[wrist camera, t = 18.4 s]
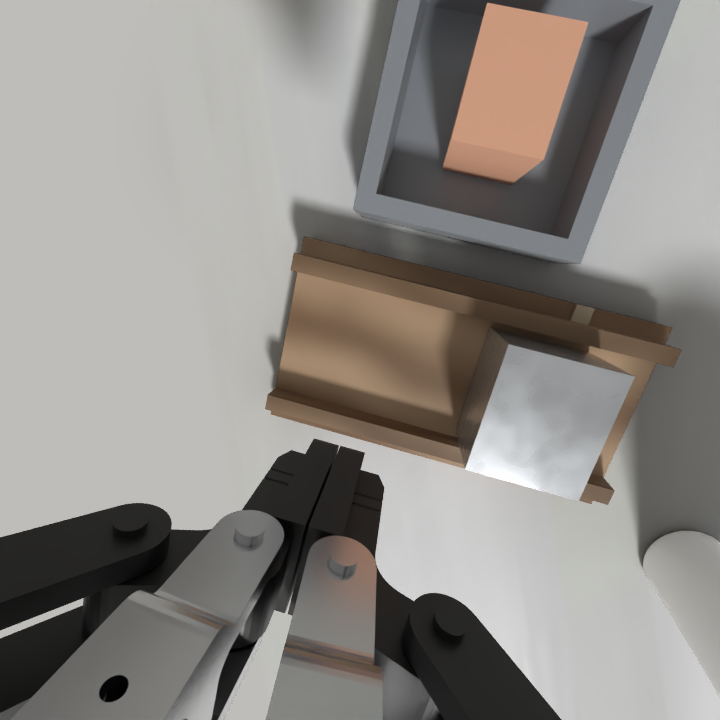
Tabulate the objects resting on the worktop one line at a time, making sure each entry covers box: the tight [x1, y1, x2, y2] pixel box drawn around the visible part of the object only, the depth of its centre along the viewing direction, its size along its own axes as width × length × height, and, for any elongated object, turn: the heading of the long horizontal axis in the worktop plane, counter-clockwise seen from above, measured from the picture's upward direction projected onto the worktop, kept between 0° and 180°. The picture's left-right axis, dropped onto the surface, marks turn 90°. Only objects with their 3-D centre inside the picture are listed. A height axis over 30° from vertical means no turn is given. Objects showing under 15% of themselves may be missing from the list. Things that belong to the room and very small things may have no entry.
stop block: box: [442, 3, 588, 185], centre depth 19 cm, size 5×4×6 cm
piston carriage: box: [456, 327, 635, 501], centre depth 22 cm, size 7×6×5 cm
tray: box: [353, 0, 680, 264], centre depth 21 cm, size 12×12×4 cm
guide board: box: [265, 237, 681, 505], centre depth 25 cm, size 12×22×3 cm, turn 77°
